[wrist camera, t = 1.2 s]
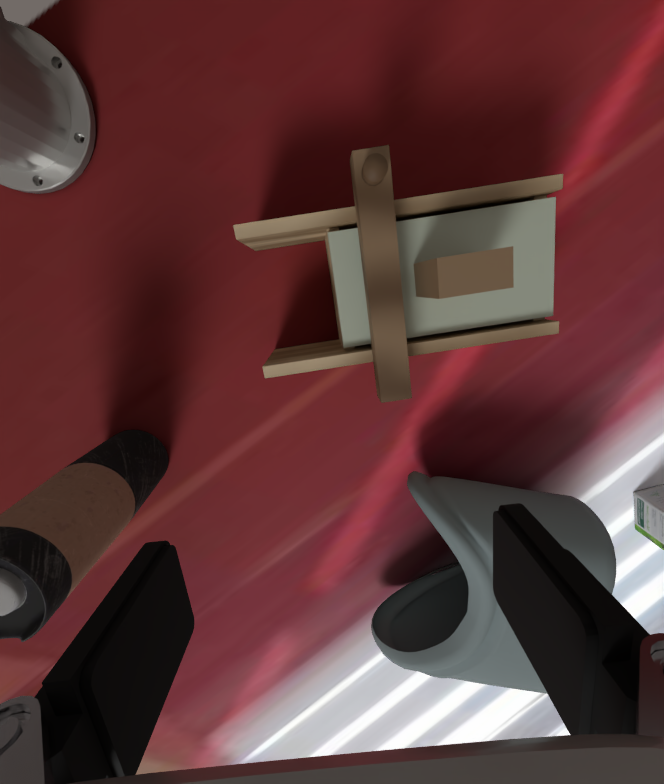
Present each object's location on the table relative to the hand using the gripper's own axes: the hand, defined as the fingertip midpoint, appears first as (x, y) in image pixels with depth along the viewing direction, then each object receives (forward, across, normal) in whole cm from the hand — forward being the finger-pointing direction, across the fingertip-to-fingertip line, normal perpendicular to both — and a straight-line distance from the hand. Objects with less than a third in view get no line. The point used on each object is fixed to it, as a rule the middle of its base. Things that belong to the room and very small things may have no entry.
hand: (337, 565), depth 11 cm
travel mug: (+30, +23, +8) cm, 39 cm away
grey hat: (+32, -13, +25) cm, 42 cm away
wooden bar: (+21, -5, -8) cm, 23 cm away
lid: (+23, -10, -8) cm, 27 cm away
